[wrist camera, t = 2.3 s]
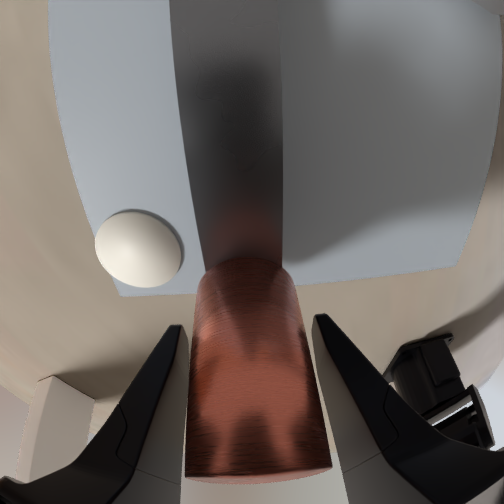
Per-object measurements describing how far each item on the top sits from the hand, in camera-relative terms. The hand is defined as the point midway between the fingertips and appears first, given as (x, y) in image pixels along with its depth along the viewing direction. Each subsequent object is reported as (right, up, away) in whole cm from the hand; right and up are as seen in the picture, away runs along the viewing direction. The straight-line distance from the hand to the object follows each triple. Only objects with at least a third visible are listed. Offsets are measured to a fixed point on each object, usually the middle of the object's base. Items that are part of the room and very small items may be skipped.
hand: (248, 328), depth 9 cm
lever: (0, +9, -3) cm, 9 cm away
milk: (-22, -14, +15) cm, 30 cm away
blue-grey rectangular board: (+2, +11, -2) cm, 12 cm away
